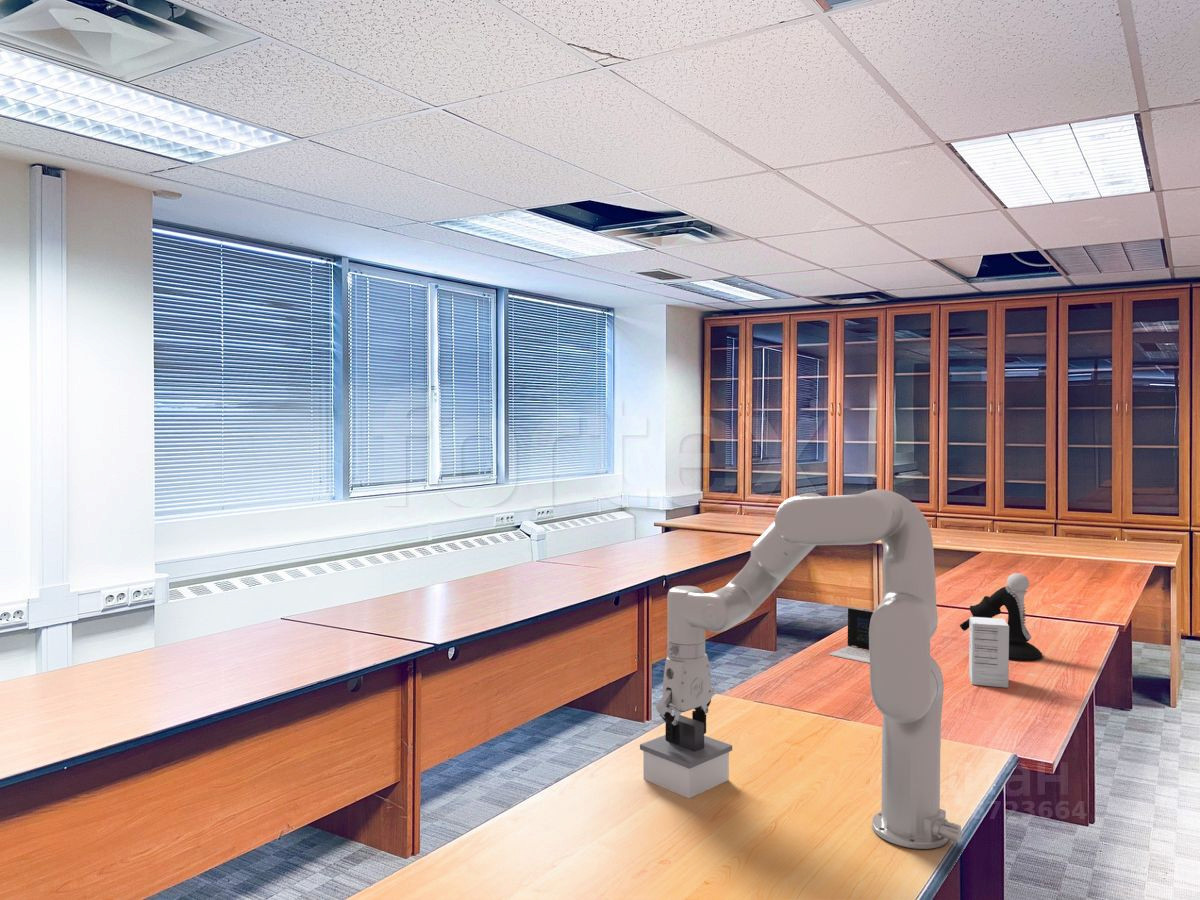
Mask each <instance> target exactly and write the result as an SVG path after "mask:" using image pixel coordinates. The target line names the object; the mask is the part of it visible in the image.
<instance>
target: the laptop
mask: <svg viewBox="0 0 1200 900" xmlns="http://www.w3.org/2000/svg"><path fill="white" fill-rule="evenodd" d="M873 612H874V611H871V610H865V609H860V608H853V607H847V646H844V647H843V648H840V649H838V650H834V651H832V652H831V653H829V654H828V655H829V656H833V657H837V658H841V659H846V660H852V661H856V662H861V663H867V664H870V654H869V626H870V620H871V617H872V614H873Z"/></svg>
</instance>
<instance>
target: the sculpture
mask: <svg viewBox="0 0 1200 900" xmlns="http://www.w3.org/2000/svg"><path fill="white" fill-rule="evenodd" d="M1006 584H1007V585H1004V586H1002V587H1001V588H999V589H997V590H996V591H995V592H994V593H992V594H991V595H990V596H988V595H984V596H983V598H982V599H981V601H980V602H979V603H978V604H974V605H970V606H969V611H970V614H971V615H972V616H971V617H983V618H995V617H996V616H998V615H1001V613H1002V611H1001V609H1002V607H1003V606H1004V607H1005V609H1006V610H1007V615H1008V616H1007V624H1008V625H1009V661H1015V662H1036V661H1039V660H1042V659H1043V653H1042V651H1041V650H1039V648H1037V647H1036V646H1035V645H1033V644H1031V643H1030V642H1029V641H1030V640H1031V639H1032V636H1031V634H1030V633H1029V631H1028V629H1027V627H1026V622H1025V621H1026V617H1027V616H1026V615H1027V614H1026V613H1025V612H1026V607H1025V596H1026V593H1027V592H1028V591H1027V589H1029V587H1030V580H1029V578H1028V576H1026V575H1025V574H1023V573H1017V572H1015V573H1012V574H1010V575H1009V576H1008V577H1007V579H1006ZM969 620H970V617H969V618H968V619H967V620H965V621H963V622H962V623H961V624H959V627H960V628H961V631H964V632H965V631H967V630H968V629H969Z"/></svg>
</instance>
